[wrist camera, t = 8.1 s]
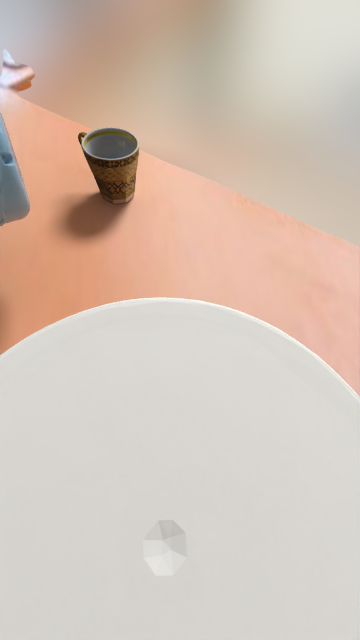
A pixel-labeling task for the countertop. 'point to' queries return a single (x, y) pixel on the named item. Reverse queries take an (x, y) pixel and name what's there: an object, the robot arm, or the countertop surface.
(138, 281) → the countertop surface
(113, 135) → the ceramic cup
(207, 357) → the supplement tub
